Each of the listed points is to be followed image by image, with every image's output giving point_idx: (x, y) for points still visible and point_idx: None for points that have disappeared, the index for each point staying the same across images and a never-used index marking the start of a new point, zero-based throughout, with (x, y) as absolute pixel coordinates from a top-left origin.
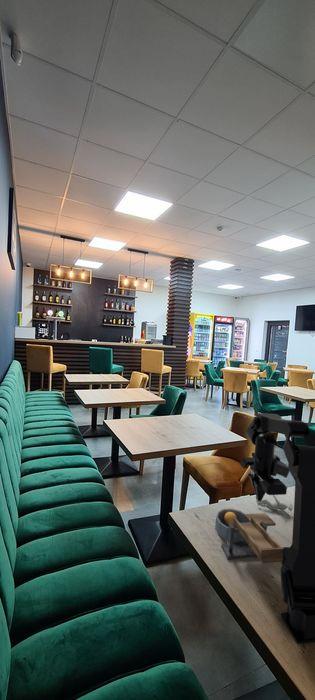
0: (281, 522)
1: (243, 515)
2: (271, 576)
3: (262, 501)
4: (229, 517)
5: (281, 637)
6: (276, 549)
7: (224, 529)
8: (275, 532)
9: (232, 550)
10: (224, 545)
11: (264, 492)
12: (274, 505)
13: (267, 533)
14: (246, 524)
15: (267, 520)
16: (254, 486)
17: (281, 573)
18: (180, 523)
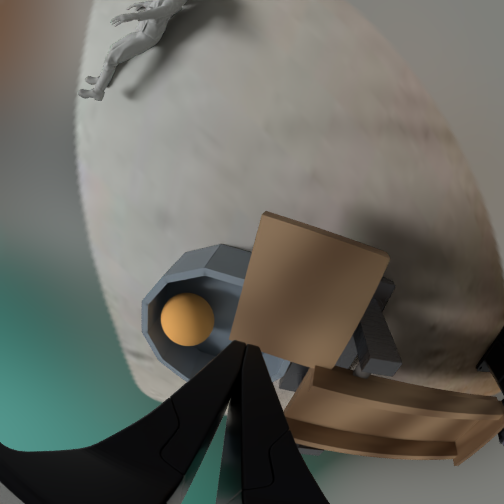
0: (245, 54)
1: (190, 274)
2: (432, 328)
3: (109, 75)
4: (196, 344)
5: (481, 383)
6: (489, 440)
7: None
8: (298, 137)
9: None
10: (290, 386)
11: (285, 440)
12: (152, 30)
13: (439, 412)
14: (315, 396)
15: (343, 281)
16: (189, 486)
17: (501, 443)
18: (165, 399)
